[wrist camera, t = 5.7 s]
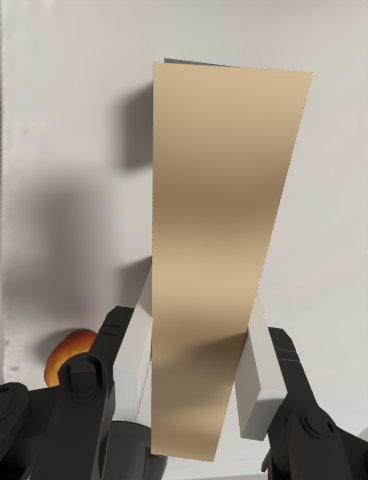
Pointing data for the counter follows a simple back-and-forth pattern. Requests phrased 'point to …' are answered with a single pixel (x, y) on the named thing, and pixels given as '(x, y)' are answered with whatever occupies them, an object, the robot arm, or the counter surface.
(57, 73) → the counter surface
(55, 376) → the fruit
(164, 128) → the oak slat
